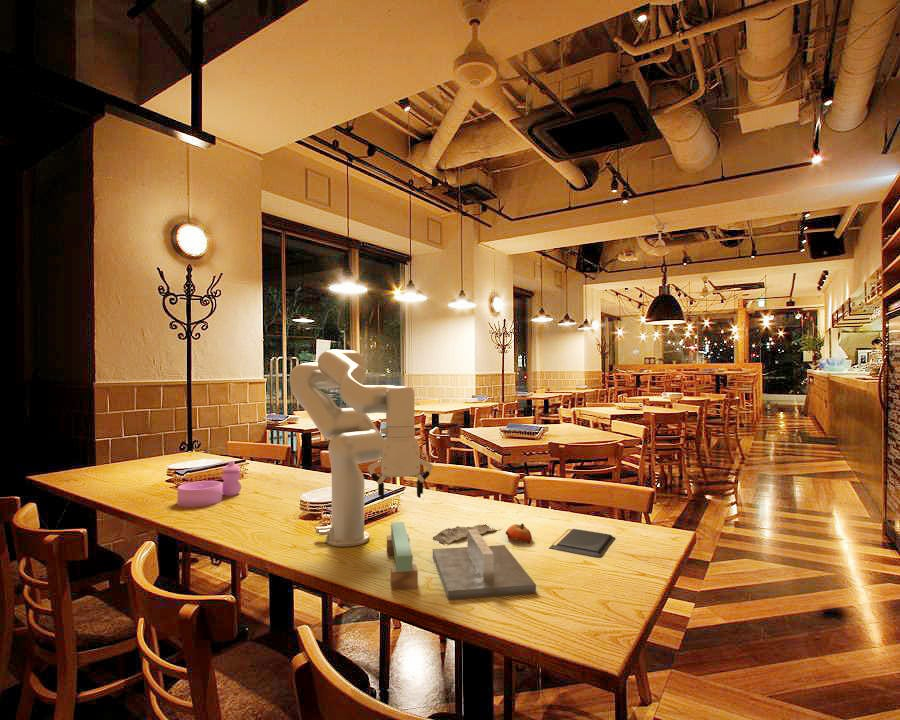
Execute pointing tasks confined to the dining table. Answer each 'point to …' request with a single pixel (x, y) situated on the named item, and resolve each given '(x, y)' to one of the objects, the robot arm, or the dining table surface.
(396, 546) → the teal batten
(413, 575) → the batten rest
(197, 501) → the container set
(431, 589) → the dining table surface
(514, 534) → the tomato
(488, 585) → the ridge stand
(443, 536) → the stone fragment
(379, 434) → the robot arm
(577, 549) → the dark grey flat block
